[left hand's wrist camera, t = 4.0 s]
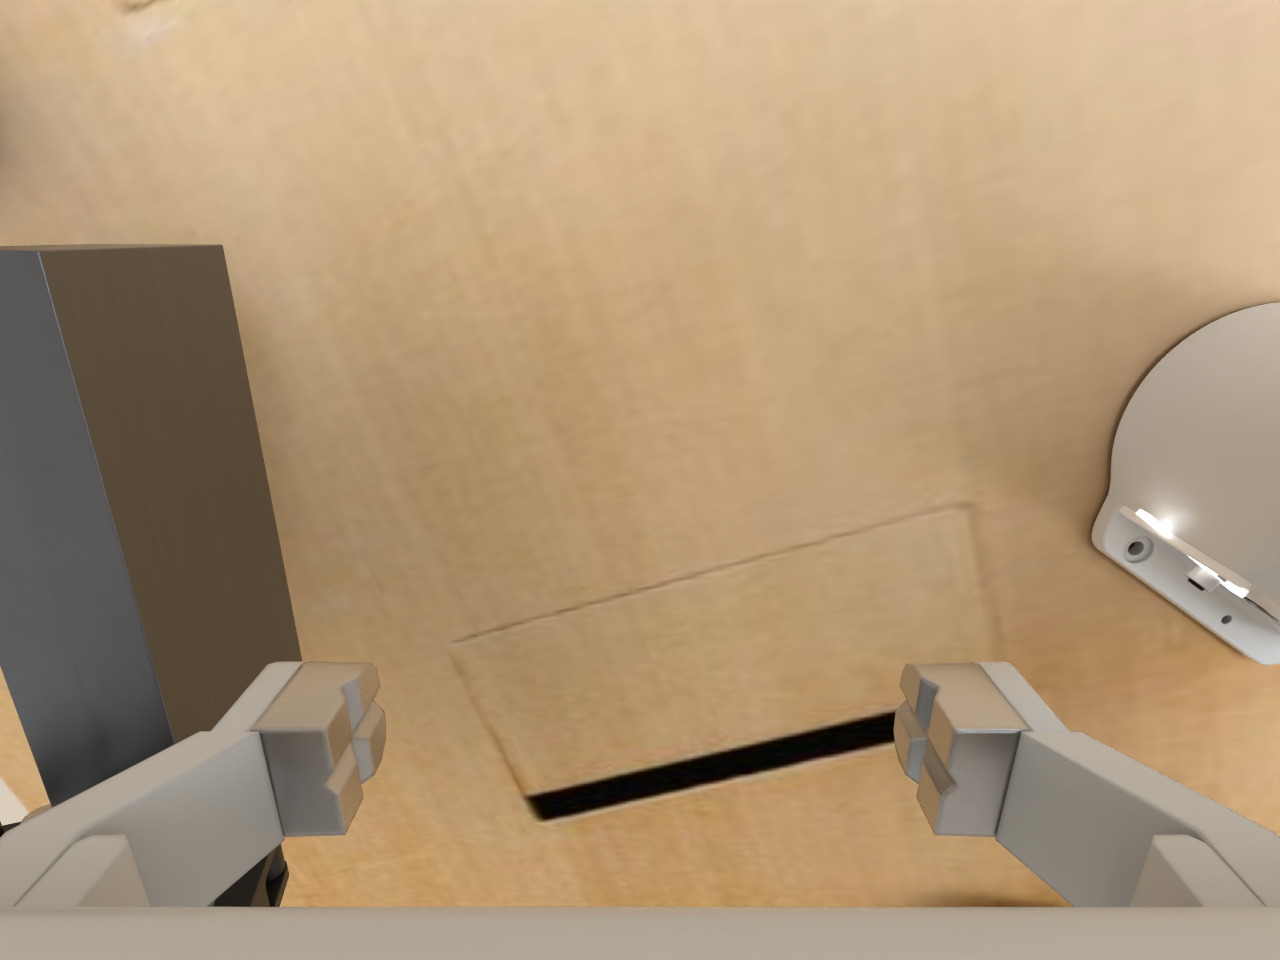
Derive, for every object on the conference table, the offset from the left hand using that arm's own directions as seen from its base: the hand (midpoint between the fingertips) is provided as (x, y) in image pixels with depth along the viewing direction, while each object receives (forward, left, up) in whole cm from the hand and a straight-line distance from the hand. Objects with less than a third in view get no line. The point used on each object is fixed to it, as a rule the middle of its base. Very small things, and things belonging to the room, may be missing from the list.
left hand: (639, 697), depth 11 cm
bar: (+9, +18, -20) cm, 28 cm away
